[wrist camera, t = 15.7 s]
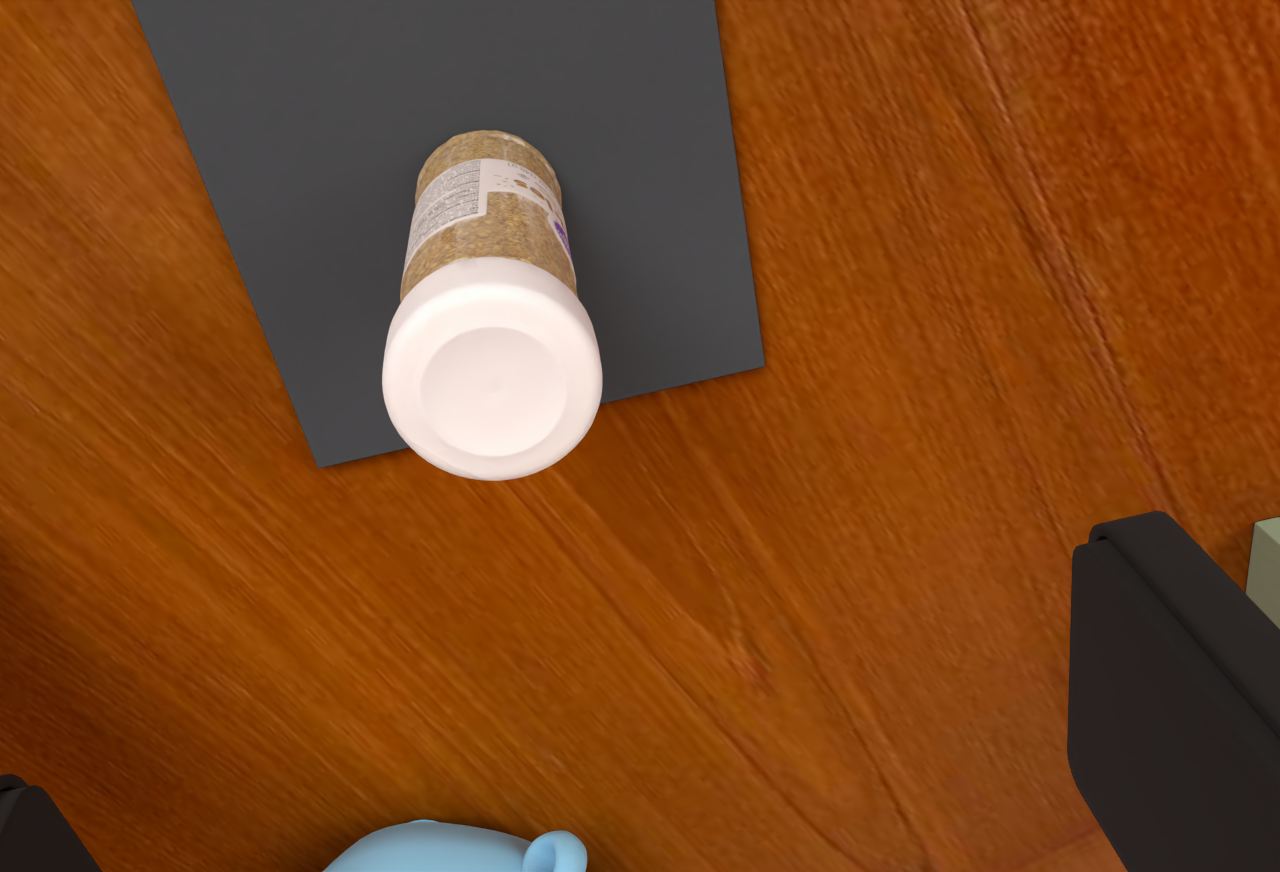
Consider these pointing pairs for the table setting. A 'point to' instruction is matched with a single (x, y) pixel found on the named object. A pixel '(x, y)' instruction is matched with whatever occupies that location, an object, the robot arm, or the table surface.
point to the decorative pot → (459, 851)
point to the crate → (1265, 568)
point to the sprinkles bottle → (490, 317)
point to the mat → (426, 119)
